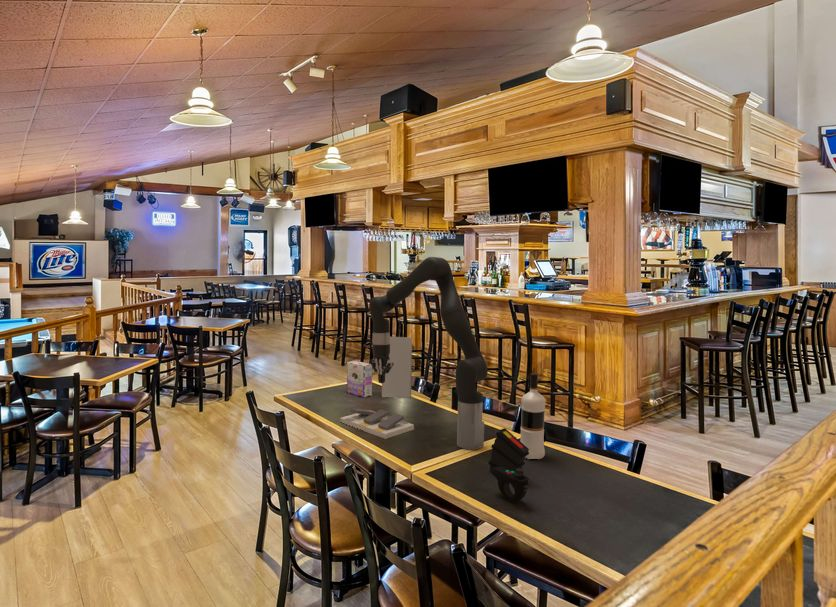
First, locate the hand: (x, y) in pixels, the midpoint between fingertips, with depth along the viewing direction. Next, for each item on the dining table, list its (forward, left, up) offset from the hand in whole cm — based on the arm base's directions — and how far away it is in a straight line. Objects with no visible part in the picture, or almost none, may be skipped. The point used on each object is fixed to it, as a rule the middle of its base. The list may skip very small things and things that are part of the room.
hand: (381, 382), depth 223 cm
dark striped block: (-72, +10, -17) cm, 74 cm away
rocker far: (+4, +7, -13) cm, 16 cm away
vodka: (-68, -11, -17) cm, 70 cm away
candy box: (+38, -20, -17) cm, 46 cm away
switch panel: (-5, +7, -16) cm, 18 cm away
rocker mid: (-5, +7, -13) cm, 16 cm away
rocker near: (-14, +7, -13) cm, 20 cm away
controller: (-81, +23, -17) cm, 85 cm away
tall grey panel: (+22, -31, -17) cm, 42 cm away
